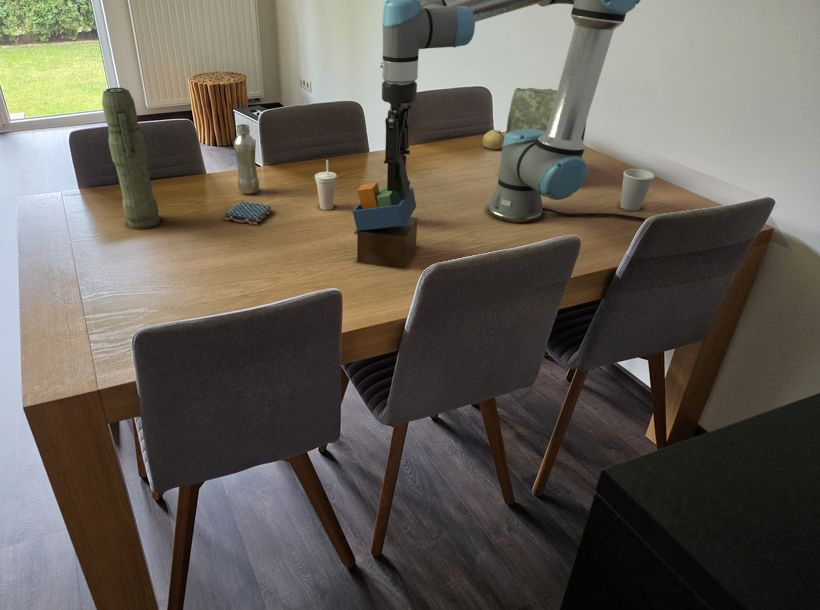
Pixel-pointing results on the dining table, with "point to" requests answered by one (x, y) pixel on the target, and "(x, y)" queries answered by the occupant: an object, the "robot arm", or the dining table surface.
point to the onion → (493, 139)
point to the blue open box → (388, 207)
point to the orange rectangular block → (368, 195)
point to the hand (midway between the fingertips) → (396, 186)
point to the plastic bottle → (246, 160)
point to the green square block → (387, 198)
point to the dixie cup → (635, 188)
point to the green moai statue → (130, 158)
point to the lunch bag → (531, 109)
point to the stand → (387, 244)
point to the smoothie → (326, 188)
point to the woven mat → (248, 213)
